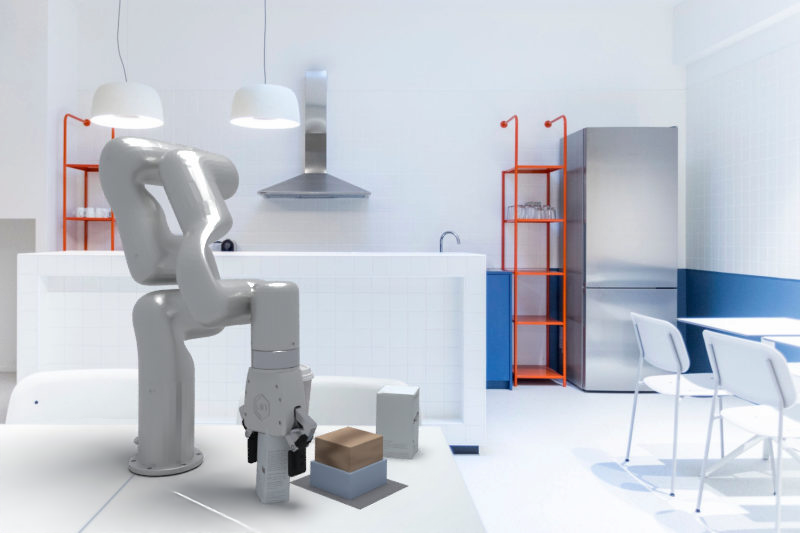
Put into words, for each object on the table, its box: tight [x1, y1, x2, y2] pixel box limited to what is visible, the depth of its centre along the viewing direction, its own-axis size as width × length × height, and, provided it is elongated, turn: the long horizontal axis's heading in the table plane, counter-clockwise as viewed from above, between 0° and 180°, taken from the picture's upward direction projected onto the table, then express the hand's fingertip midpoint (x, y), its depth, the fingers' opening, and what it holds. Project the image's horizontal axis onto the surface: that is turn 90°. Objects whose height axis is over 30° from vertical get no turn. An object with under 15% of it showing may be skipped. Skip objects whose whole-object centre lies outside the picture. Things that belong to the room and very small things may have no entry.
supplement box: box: [375, 384, 420, 460], centre depth 117 cm, size 7×7×13 cm
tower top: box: [314, 426, 384, 473], centre depth 101 cm, size 8×8×4 cm
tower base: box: [309, 457, 388, 500], centre depth 101 cm, size 9×9×4 cm
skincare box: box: [255, 428, 292, 505], centre depth 96 cm, size 6×4×12 cm
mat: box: [290, 474, 409, 510], centre depth 101 cm, size 16×12×1 cm
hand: (276, 467), depth 95 cm, fingers open, 9 cm apart
